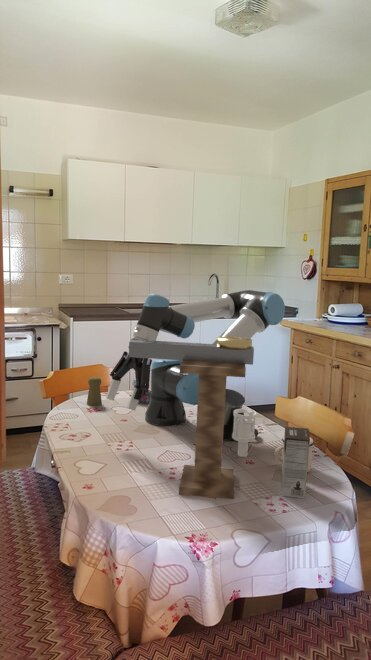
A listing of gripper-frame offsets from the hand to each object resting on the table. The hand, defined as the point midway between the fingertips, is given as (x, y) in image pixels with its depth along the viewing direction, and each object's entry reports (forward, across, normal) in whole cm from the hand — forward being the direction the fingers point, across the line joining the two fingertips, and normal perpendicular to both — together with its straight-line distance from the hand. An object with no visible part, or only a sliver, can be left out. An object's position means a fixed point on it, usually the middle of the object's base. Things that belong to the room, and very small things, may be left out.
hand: (119, 404), depth 159 cm
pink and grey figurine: (-1, -39, +35) cm, 53 cm away
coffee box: (+5, +51, +28) cm, 58 cm away
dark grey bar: (-19, +33, -6) cm, 39 cm away
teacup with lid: (0, +41, +37) cm, 56 cm away
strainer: (+2, +26, +32) cm, 42 cm away
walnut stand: (+11, +36, +12) cm, 40 cm away
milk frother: (-2, +12, +39) cm, 41 cm away
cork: (+6, -44, +17) cm, 48 cm away
